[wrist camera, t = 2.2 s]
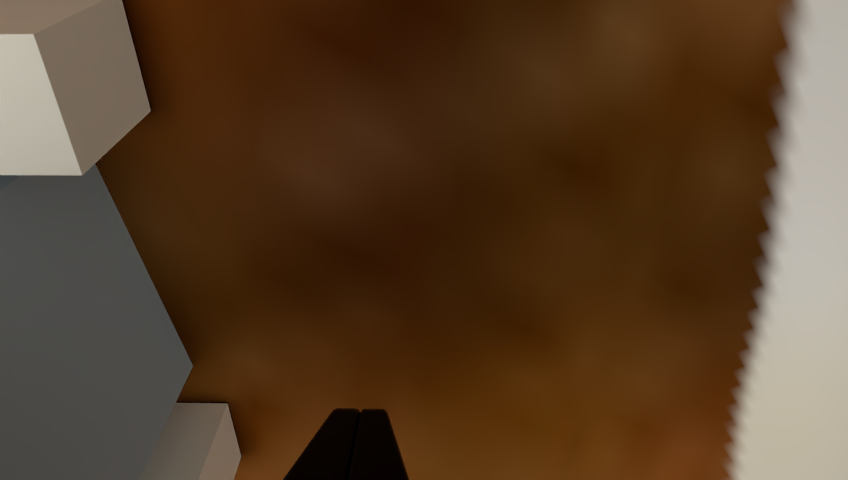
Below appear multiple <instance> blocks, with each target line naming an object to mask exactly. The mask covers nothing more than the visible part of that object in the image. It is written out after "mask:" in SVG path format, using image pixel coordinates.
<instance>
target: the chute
mask: <svg viewBox="0 0 848 480" xmlns="http://www.w3.org/2000/svg"><path fill="white" fill-rule="evenodd" d="M149 112H151V109H150V106H149V102H148V98H147V94H146V90H145V86H144V83H143V79H142V75H141V71H140V67H139V63H138V60H137V56H136V52H135V48H134V44H133V41H132V37H131V33H130V29H129V25H128V21H127V18H126V14H125V10H124V6H123V2H122V0H0V175H83V174H84V173H85V172H87V171H88V170H89V169H90V168H91V167H92V166H93V165H94V164H95V163H96V162H97V161H98V160H99V159H100V158H101V157H103V156H104V155H105V154H106V153H107V152H108V151H109V150H110V149H111V148H112V147H113V146H114V145H115V144H116V143H117V142H119V141H120V140H121V139H122V138H123V137H124V136H125V135H126V134H127V133H128V132H129V131H130V130H131V129H132V128H133V127H135V126H136V125H137V124H138V123H139V122H140V121H141V120H142V119H143V118H144V117H145V116H146V115H147V114H148V113H149ZM240 459H241V453H240V449H239V446H238V442H237V438H236V434H235V430H234V426H233V423H232V419H231V415H230V411H229V407H228V404H227V403H175V405H174V407H173V409H172V412H171V414H170V416H169V418H168V420H167V422H166V424H165V426H164V428H163V431H162V433H161V435H160V437H159V439H158V441H157V443H156V445H155V447H154V450H153V452H152V454H151V456H150V458H149V460H148V462H147V464H146V467H145V469H144V471H143V473H142V475H141V477H140V479H139V480H234V478H235V475H236V471H237V468H238V465H239V462H240Z"/></svg>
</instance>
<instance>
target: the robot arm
mask: <svg viewBox="0 0 848 480" xmlns="http://www.w3.org/2000/svg"><path fill="white" fill-rule="evenodd" d="M283 480H409V478H408V475H407V472H406V469H405V466H404V463H403V460H402V457H401V454H400V450H399V447H398V444H397V441H396V438H395V435H394V432H393V429H392V426H391V423H390V419H389V416H388V413H387V412H386V410H384V409H363V410H362V411H361V412H360V411H359V410H358V409H351V408H338V409H335V410H333V411H332V412H331V414H330V415H329V416H328V418H327V419H326V420H325V422H324V423H323V425H322V426H321V427H320V429H319V430H318V432H317V433H316V434H315V436H314V437H313V439H312V440H311V441H310V443H309V444H308V446H307V447H306V448H305V450H304V451H303V453H302V454H301V455H300V457H299V458H298V459H297V461H296V462H295V464H294V465H293V466H292V468H291V469H290V471H289V472H288V473H287V475H286V476H285V478H284V479H283Z"/></svg>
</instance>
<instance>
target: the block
mask: <svg viewBox="0 0 848 480" xmlns="http://www.w3.org/2000/svg"><path fill="white" fill-rule="evenodd" d="M192 367H193V365H192V363H191V361H190V358H189V356H188V354H187V352H186V350H185V348H184V346H183V344H182V342H181V340H180V338H179V336H178V334H177V332H176V330H175V327H174V325H173V323H172V321H171V319H170V317H169V315H168V313H167V311H166V309H165V307H164V305H163V303H162V301H161V298H160V296H159V294H158V292H157V290H156V288H155V286H154V284H153V282H152V280H151V278H150V276H149V274H148V272H147V269H146V267H145V265H144V263H143V261H142V259H141V257H140V255H139V253H138V251H137V249H136V247H135V245H134V243H133V241H132V238H131V236H130V234H129V232H128V230H127V228H126V226H125V224H124V222H123V220H122V218H121V216H120V214H119V212H118V209H117V207H116V205H115V203H114V201H113V199H112V197H111V195H110V193H109V191H108V189H107V187H106V185H105V183H104V181H103V178H102V176H101V174H100V172H99V170H98V168H97V166H96V164H94V165H93V166H92V167H91V168H90V169H89V170H88V171H87V172H85V173H84V174H83V175H0V480H139V479H140V477H141V475H142V473H143V471H144V469H145V467H146V464H147V462H148V460H149V458H150V456H151V454H152V452H153V450H154V447H155V445H156V443H157V441H158V439H159V437H160V435H161V433H162V431H163V428H164V426H165V424H166V422H167V420H168V418H169V416H170V414H171V412H172V409H173V407H174V405H175V403H176V401H177V399H178V397H179V395H180V393H181V390H182V388H183V386H184V384H185V382H186V380H187V378H188V376H189V374H190V371H191V369H192Z"/></svg>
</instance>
